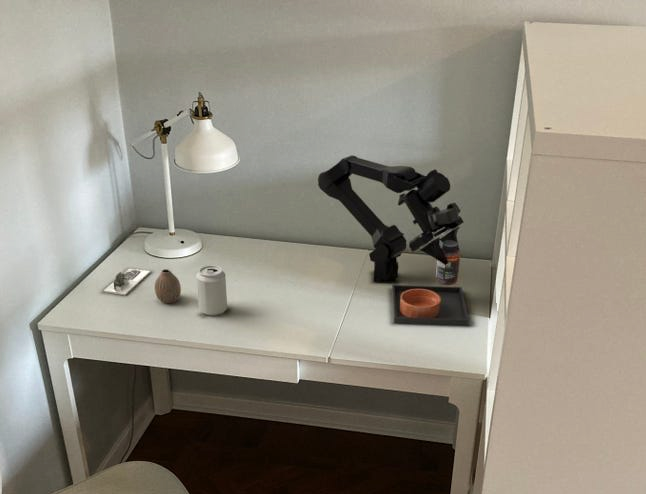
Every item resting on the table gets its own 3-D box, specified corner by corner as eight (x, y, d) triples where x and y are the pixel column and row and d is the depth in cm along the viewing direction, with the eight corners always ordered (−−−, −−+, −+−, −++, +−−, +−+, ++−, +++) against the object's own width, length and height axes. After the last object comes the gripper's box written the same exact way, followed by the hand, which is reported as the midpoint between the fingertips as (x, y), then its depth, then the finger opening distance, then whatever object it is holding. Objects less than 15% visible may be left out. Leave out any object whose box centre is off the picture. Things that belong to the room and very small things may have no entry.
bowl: (400, 320, 209) (401, 306, 207) (398, 301, 218) (399, 288, 216) (440, 321, 208) (442, 307, 206) (437, 302, 217) (439, 289, 215)
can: (232, 306, 213) (230, 266, 207) (219, 319, 207) (217, 277, 201) (207, 301, 215) (204, 261, 209) (194, 314, 209) (190, 273, 203)
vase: (186, 297, 217) (184, 268, 213) (172, 308, 212) (169, 278, 207) (165, 292, 220) (162, 263, 215) (151, 302, 214) (147, 273, 210)
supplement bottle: (450, 275, 219) (455, 237, 213) (461, 284, 215) (466, 246, 209) (431, 278, 217) (435, 240, 211) (441, 287, 213) (446, 249, 207)
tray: (393, 323, 207) (394, 317, 206) (392, 290, 223) (392, 284, 222) (468, 325, 207) (468, 320, 206) (460, 292, 223) (461, 287, 222)
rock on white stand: (125, 295, 218) (123, 280, 215) (103, 292, 219) (101, 277, 217) (150, 272, 230) (148, 258, 228) (129, 269, 231) (127, 255, 229)
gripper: (422, 205, 199) (455, 258, 199) (461, 186, 212) (492, 236, 212) (394, 226, 208) (426, 276, 208) (434, 206, 220) (463, 254, 220)
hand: (453, 260), depth 212 cm, fingers closed on supplement bottle, 6 cm apart
